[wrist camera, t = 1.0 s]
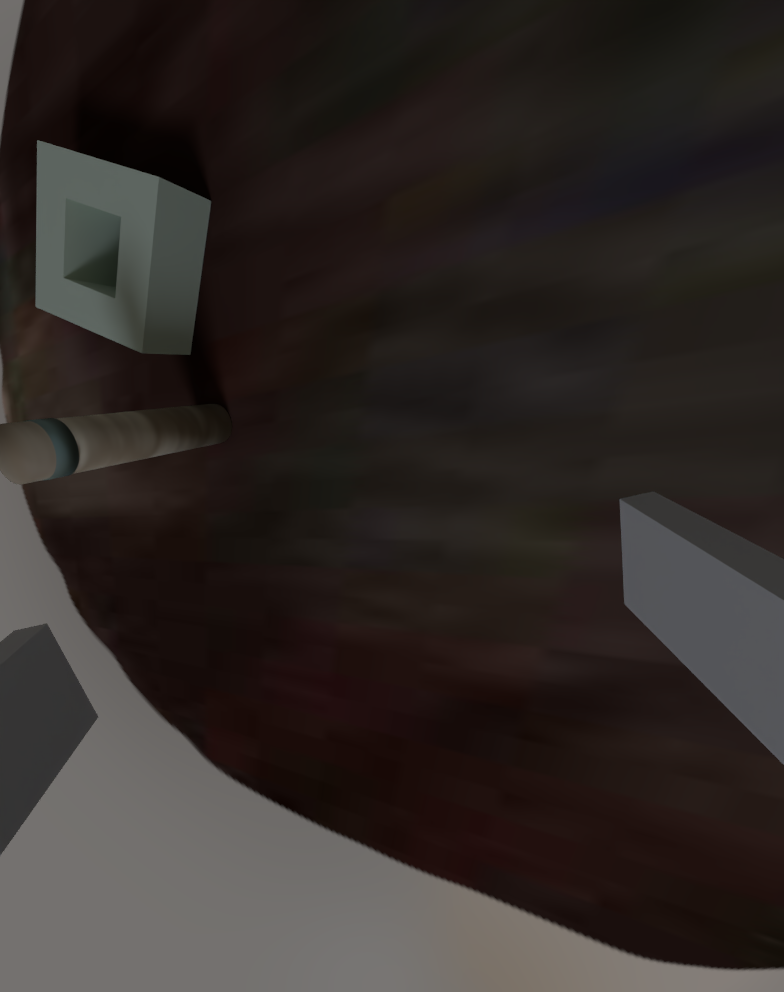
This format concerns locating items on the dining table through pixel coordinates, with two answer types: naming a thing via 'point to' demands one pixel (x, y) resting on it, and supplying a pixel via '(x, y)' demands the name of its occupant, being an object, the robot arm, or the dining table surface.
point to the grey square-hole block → (118, 250)
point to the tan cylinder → (105, 440)
